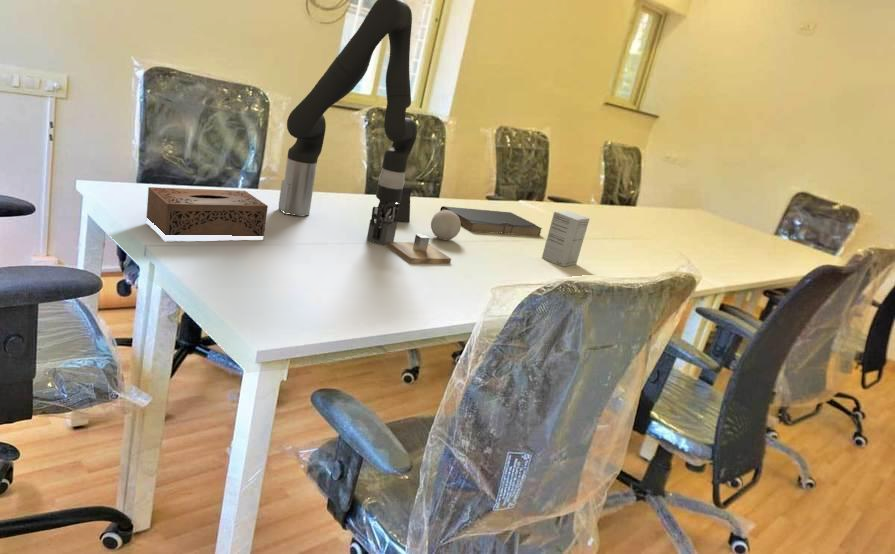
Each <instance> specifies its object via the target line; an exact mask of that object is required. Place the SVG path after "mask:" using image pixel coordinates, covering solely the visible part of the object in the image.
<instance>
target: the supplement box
mask: <svg viewBox="0 0 895 554" xmlns="http://www.w3.org/2000/svg"><path fill="white" fill-rule="evenodd" d="M551 219H552V220H551V222H550V227H549V230H548V233H547V236H546V237H547V238H546V241H545V244H544V247H543V252H542V255H541V256H542V257H541V258H542V259H544V260H546V261H547V262H550V263H553V264H556V265H557V266H560V267H563V268H564V267H565V268H566V267H569V266H574V265H577V263H578V259H579V256H580V253H581V249H582V247H583V246H582V245H583V243H584V239H585V237H586V232H587V230H588V225H589V223H590V218H589V217H588V216H587V217H586V216H584V215H581V214H578V213H575V212H573V211H570V210H562V211H561V210H559V211H553V215H552V218H551Z"/></svg>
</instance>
